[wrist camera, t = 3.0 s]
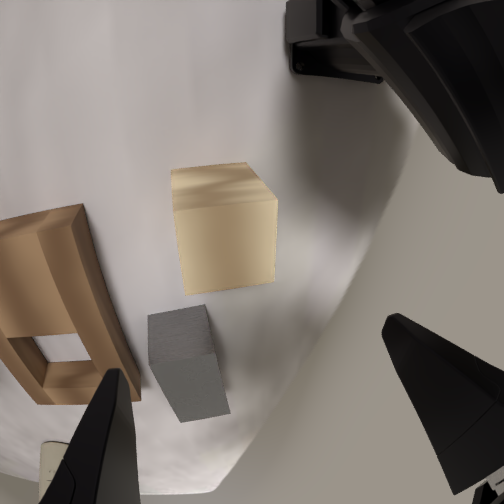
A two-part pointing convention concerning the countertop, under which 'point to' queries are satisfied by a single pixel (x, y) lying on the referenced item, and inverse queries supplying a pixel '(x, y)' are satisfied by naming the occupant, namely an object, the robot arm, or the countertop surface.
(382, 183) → the countertop surface
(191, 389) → the grey rectangular block
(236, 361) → the countertop surface
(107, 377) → the robot arm
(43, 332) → the socket block
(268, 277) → the square bit
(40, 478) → the travel mug
